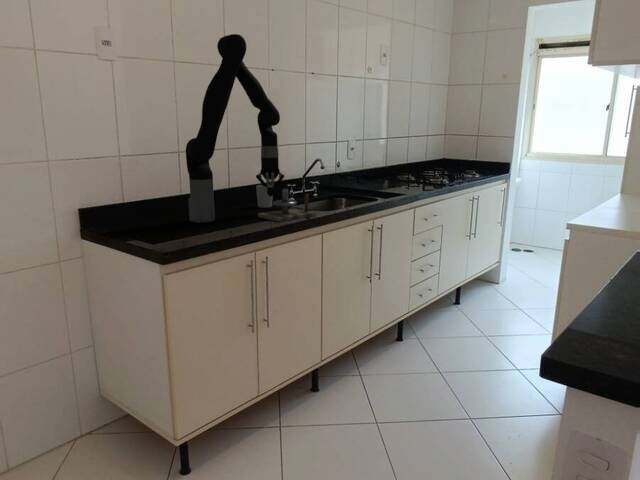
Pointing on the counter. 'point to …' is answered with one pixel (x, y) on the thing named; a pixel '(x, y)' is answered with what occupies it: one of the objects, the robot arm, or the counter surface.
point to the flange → (285, 200)
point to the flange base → (288, 213)
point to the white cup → (263, 197)
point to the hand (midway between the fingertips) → (270, 195)
